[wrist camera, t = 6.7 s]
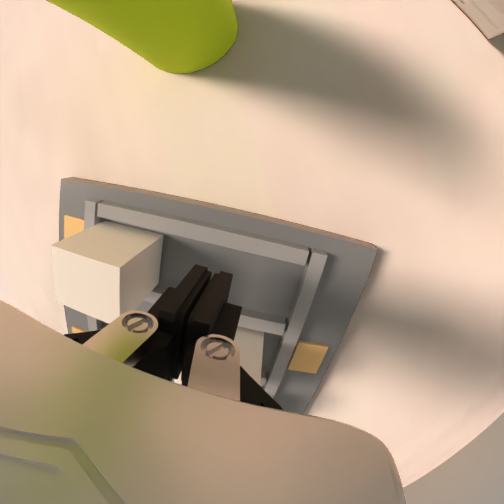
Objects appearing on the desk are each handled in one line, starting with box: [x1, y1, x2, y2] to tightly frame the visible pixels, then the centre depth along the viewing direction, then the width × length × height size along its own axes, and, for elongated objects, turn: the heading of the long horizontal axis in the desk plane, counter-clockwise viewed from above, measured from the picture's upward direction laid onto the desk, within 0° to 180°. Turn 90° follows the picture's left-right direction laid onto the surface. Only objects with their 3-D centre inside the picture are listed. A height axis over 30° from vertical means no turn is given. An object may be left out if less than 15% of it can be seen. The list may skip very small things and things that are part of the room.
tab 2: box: [174, 326, 264, 385], centre depth 14 cm, size 4×3×5 cm
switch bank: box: [59, 177, 378, 414], centre depth 17 cm, size 20×16×2 cm
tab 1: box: [51, 221, 164, 324], centre depth 13 cm, size 4×3×5 cm
